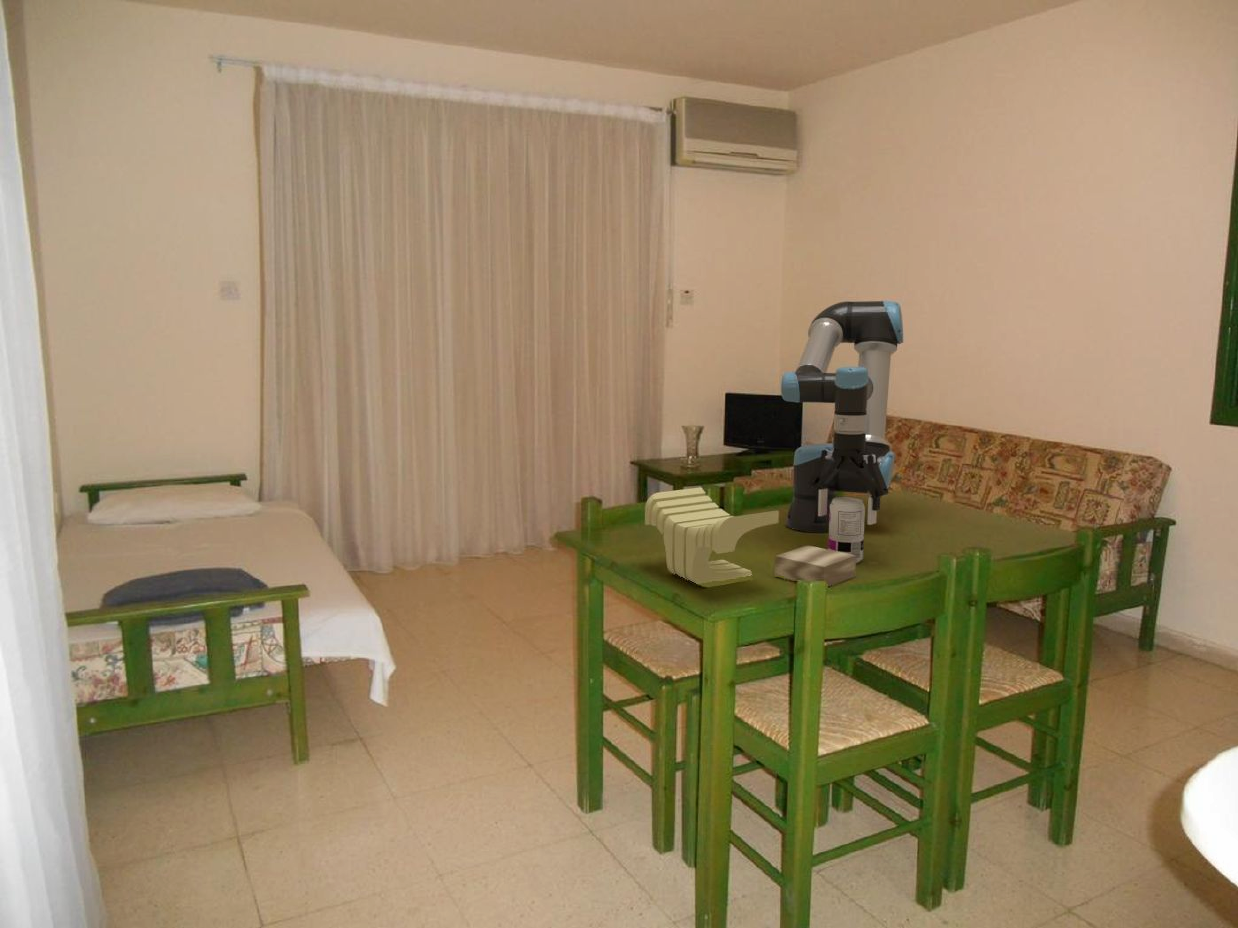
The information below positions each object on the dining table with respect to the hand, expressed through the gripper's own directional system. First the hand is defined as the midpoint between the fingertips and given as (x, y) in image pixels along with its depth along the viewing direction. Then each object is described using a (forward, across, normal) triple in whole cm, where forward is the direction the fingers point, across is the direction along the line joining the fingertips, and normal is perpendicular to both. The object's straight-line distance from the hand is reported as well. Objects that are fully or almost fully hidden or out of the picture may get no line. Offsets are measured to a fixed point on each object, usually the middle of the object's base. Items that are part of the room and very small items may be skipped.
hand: (846, 519), depth 222 cm
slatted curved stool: (+11, -15, -34) cm, 39 cm away
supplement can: (+10, 0, 0) cm, 10 cm away
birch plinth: (+10, +2, -16) cm, 20 cm away
